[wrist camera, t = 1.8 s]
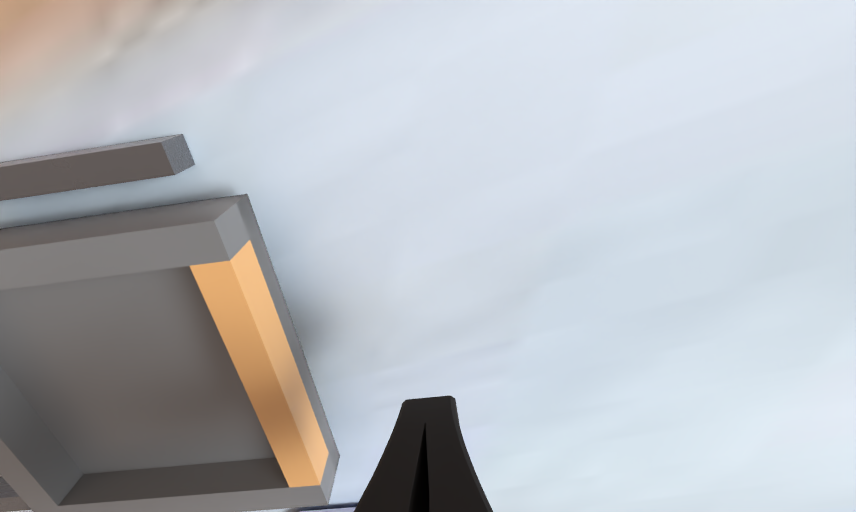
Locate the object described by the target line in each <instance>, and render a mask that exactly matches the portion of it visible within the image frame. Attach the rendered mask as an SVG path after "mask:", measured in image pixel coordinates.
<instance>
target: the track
mask: <svg viewBox="0 0 856 512" xmlns="http://www.w3.org/2000/svg"><path fill="white" fill-rule="evenodd" d="M193 165H195V164H194V161H193V159H192V156H191V154H190V151H189V148H188V146H187V143H186V141H185V138H184V136H183V134H180V135H174V136H167V137H161V138H154V139H148V140H142V141H135V142H129V143H123V144H116V145H110V146H103V147H97V148H91V149H84V150H78V151H72V152H65V153H59V154H53V155H46V156H40V157H33V158H27V159H21V160H14V161H8V162H2V163H0V201H2V200H9V199H16V198H22V197H29V196H36V195H43V194H49V193H56V192H63V191H70V190H76V189H83V188H90V187H97V186H103V185H110V184H117V183H124V182H130V181H137V180H144V179H150V178H157V177H164V176H171V175H176V174H178V173H180V172H182V171H184V170H185V169H187V168H189V167H191V166H193ZM19 510H31V508H30V507H29V506H28V505H27V504H26V503H25V502H24V501H23V500H22V498H21V497H20V496H19V495H18V494H17V493H16V492H15V491H14V489H13V488H12V487H11V486H10V485H9V484H8V483H7V482H6V481H5V479H4V478H3V477H0V512H7V511H19Z"/></svg>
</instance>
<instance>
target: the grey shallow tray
mask: <svg viewBox="0 0 856 512" xmlns="http://www.w3.org/2000/svg"><path fill="white" fill-rule="evenodd" d="M339 458H340V455H339V452H338V449H337V446H336V444H335V441H334V438H333V435H332V432H331V429H330V427H329V424H328V421H327V418H326V415H325V412H324V410H323V407H322V404H321V401H320V398H319V395H318V393H317V390H316V387H315V384H314V381H313V378H312V376H311V373H310V370H309V367H308V364H307V361H306V359H305V356H304V353H303V350H302V347H301V345H300V342H299V339H298V336H297V333H296V330H295V328H294V325H293V322H292V319H291V316H290V313H289V311H288V308H287V305H286V302H285V299H284V296H283V294H282V291H281V288H280V285H279V282H278V279H277V277H276V274H275V271H274V268H273V265H272V262H271V260H270V257H269V254H268V251H267V248H266V246H265V243H264V240H263V237H262V234H261V231H260V229H259V226H258V223H257V220H256V217H255V214H254V212H253V209H252V206H251V203H250V200H249V197H248V195H247V194H244V195H237V196H230V197H223V198H215V199H208V200H201V201H194V202H187V203H180V204H173V205H166V206H159V207H152V208H145V209H138V210H131V211H124V212H117V213H110V214H103V215H96V216H89V217H82V218H75V219H68V220H61V221H54V222H47V223H40V224H33V225H26V226H19V227H11V228H4V229H0V475H1V476H2V477H3V478H4V479H5V481H6V482H7V483H8V484H9V485H10V486H11V487H12V488H13V489H14V491H15V492H16V493H17V494H18V495H19V496H20V497H21V498H22V500H23V501H24V502H25V503H26V504H27V505H28V506H29V507H30V508H31V510H32V511H33V512H243V511H256V510H269V509H282V508H296V507H309V506H322V505H328V504H329V500H330V496H331V491H332V487H333V483H334V479H335V474H336V470H337V466H338V462H339Z"/></svg>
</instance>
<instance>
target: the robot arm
mask: <svg viewBox="0 0 856 512" xmlns="http://www.w3.org/2000/svg"><path fill="white" fill-rule="evenodd" d="M300 512H493V510H492V508H491V506H490V504H489V502H488V500H487V498H486V495H485V493H484V491H483V489H482V487H481V484H480V482H479V480H478V477H477V475H476V473H475V470H474V467H473V465H472V462H471V460H470V457H469V454H468V452H467V449H466V446H465V443H464V440H463V437H462V433H461V430H460V426H459V419H458V413H457V407H456V401H455V398H453V397H452V396H441V397H430V398H420V399H409V400H405V401H404V402H403V403H402V407H401V410H400V413H399V416H398V418H397V421H396V424H395V426H394V429H393V432H392V434H391V436H390V439H389V441H388V444H387V446H386V448H385V450H384V453H383V455H382V457H381V459H380V461H379V463H378V466H377V468H376V470H375V472H374V474H373V476H372V478H371V480H370V482H369V484H368V486H367V488H366V490H365V491H364V493H363V495H362V497H361V499H360V501H359V503H358V505H357V507H350V508H337V509H323V510H310V511H300Z"/></svg>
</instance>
